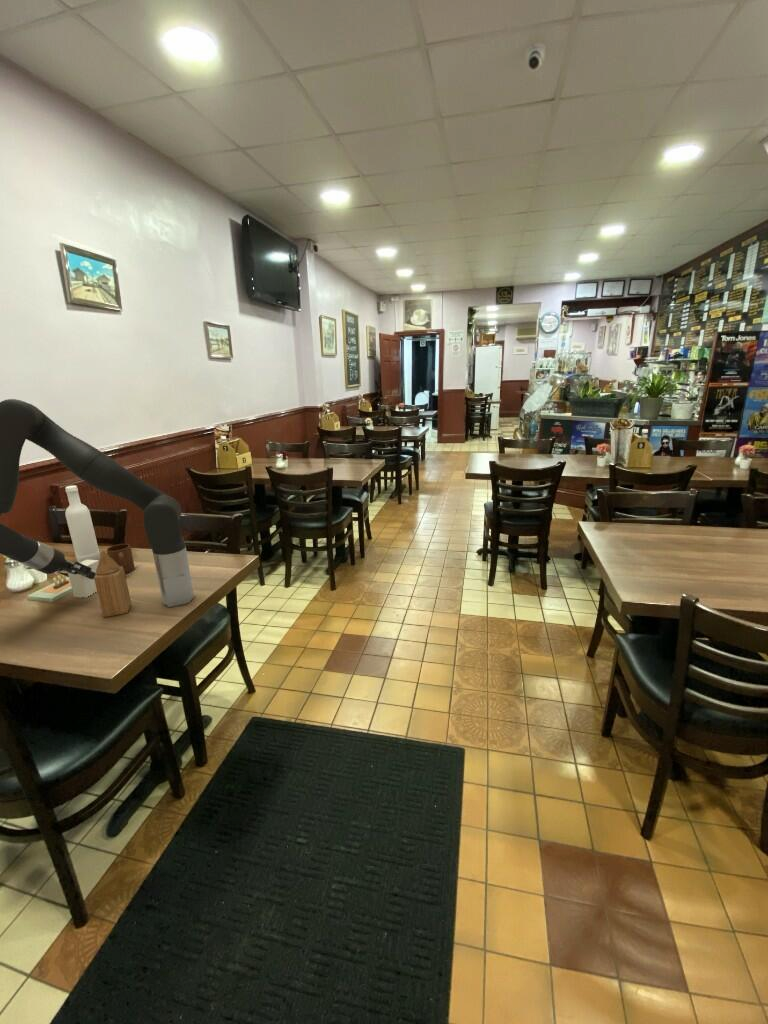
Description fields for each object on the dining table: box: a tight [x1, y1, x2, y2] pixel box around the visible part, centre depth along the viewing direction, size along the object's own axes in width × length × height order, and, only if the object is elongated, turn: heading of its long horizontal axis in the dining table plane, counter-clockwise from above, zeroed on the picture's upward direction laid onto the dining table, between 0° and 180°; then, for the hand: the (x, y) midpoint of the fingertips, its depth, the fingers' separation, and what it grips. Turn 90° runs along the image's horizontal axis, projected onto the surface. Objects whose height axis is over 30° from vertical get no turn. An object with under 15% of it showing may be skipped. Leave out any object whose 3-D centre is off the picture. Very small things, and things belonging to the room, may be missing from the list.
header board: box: [26, 574, 73, 603], centre depth 146 cm, size 16×10×5 cm, turn 168°
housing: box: [68, 559, 100, 599], centre depth 143 cm, size 8×5×10 cm, turn 168°
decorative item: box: [94, 550, 132, 618], centre depth 129 cm, size 7×7×20 cm
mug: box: [106, 543, 136, 574], centre depth 157 cm, size 12×8×9 cm, turn 37°
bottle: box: [65, 485, 101, 563], centre depth 167 cm, size 8×8×30 cm
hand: (83, 575), depth 142 cm, fingers open, 8 cm apart
